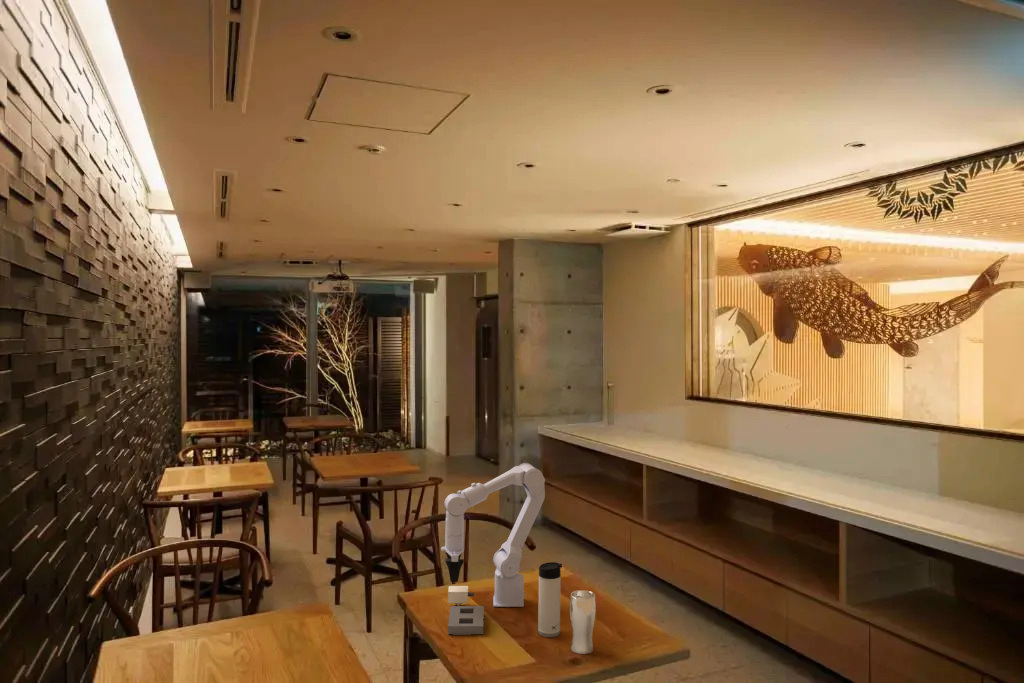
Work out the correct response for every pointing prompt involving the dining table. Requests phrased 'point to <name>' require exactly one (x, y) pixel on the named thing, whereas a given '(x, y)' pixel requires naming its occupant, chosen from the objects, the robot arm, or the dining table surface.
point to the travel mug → (549, 599)
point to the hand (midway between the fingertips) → (453, 577)
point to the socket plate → (466, 620)
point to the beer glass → (582, 620)
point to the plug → (458, 594)
